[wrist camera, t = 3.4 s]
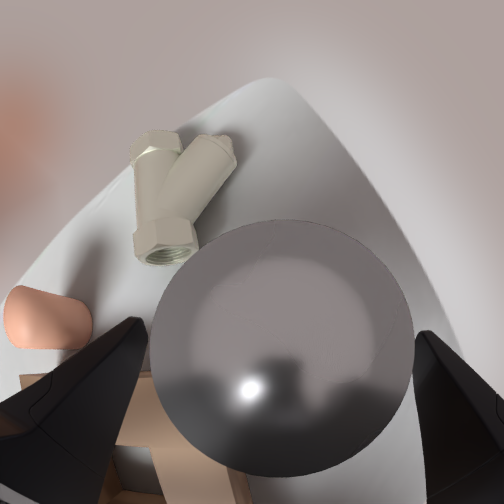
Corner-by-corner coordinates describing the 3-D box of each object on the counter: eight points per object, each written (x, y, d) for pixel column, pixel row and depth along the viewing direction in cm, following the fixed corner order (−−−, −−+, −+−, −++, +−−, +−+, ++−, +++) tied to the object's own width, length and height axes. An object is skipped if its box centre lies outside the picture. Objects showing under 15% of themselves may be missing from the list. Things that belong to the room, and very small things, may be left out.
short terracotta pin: (95, 348, 17) (39, 348, 11) (59, 350, 17) (5, 348, 12) (90, 296, 18) (36, 281, 12) (55, 302, 18) (3, 289, 13)
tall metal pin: (317, 360, 15) (425, 438, 3) (254, 372, 16) (178, 484, 3) (305, 299, 16) (379, 200, 4) (243, 311, 17) (137, 247, 4)
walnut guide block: (260, 531, 12) (255, 566, 8) (99, 516, 13) (74, 536, 9) (222, 363, 16) (205, 372, 12) (56, 372, 16) (19, 374, 12)
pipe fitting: (231, 146, 20) (143, 167, 20) (226, 110, 17) (124, 136, 16) (256, 247, 18) (152, 270, 18) (256, 223, 14) (128, 253, 14)
